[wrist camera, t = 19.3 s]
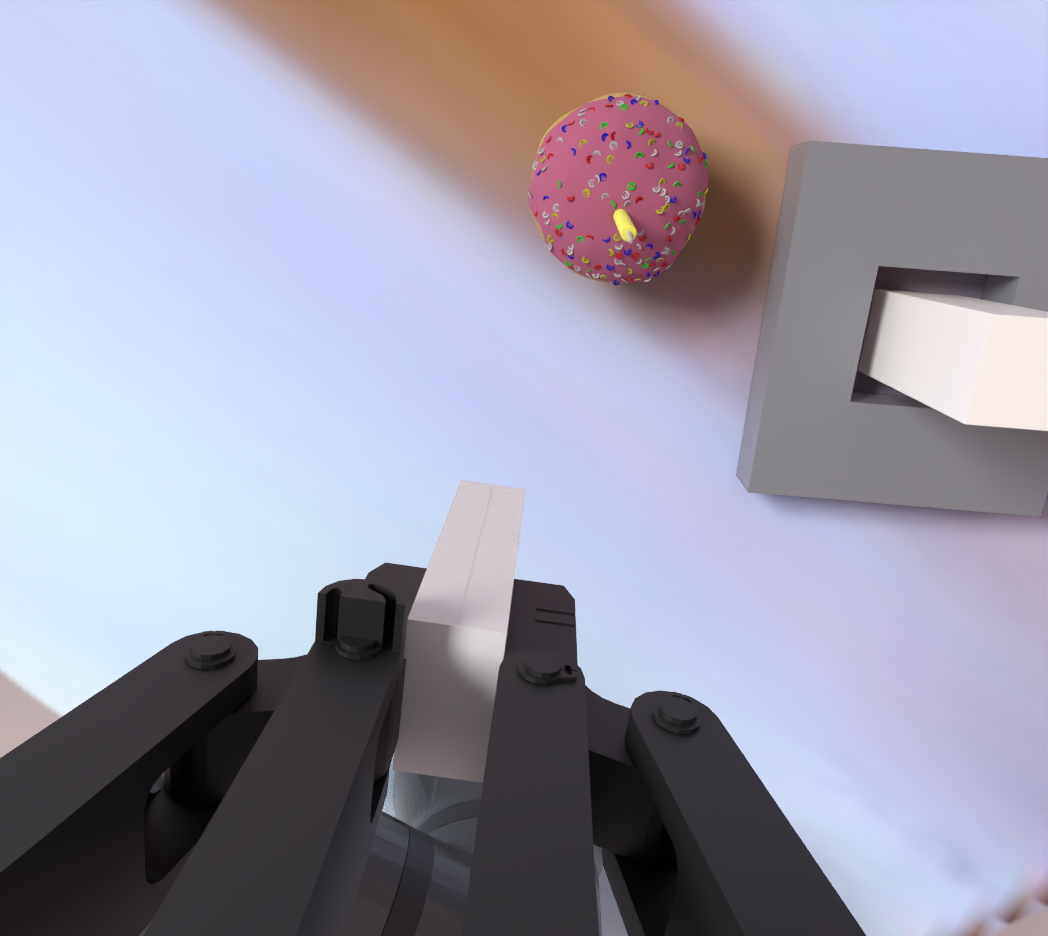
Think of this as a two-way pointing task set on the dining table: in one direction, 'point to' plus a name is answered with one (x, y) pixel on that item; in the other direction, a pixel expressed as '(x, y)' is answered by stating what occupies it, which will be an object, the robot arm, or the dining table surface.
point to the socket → (841, 316)
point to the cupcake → (618, 188)
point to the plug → (961, 356)
